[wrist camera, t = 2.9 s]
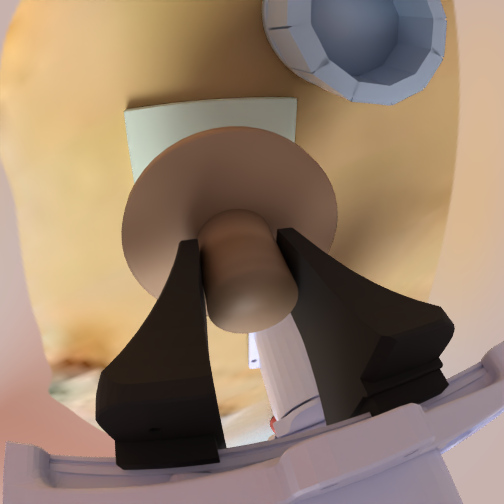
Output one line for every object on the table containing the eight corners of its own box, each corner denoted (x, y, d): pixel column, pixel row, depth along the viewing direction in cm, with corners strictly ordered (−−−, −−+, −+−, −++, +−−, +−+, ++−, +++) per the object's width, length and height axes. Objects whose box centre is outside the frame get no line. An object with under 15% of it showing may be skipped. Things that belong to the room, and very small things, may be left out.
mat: (284, 231, 22) (287, 236, 21) (148, 248, 20) (148, 254, 19) (293, 97, 16) (297, 99, 16) (125, 109, 14) (123, 111, 14)
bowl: (395, 95, 17) (436, 113, 14) (260, 86, 15) (283, 99, 12) (403, -28, 12) (448, -31, 8) (262, -60, 10) (287, -84, 7)
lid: (315, 290, 17) (347, 352, 14) (147, 314, 16) (148, 388, 12) (342, 124, 12) (407, 168, 8) (104, 141, 10) (71, 197, 7)
